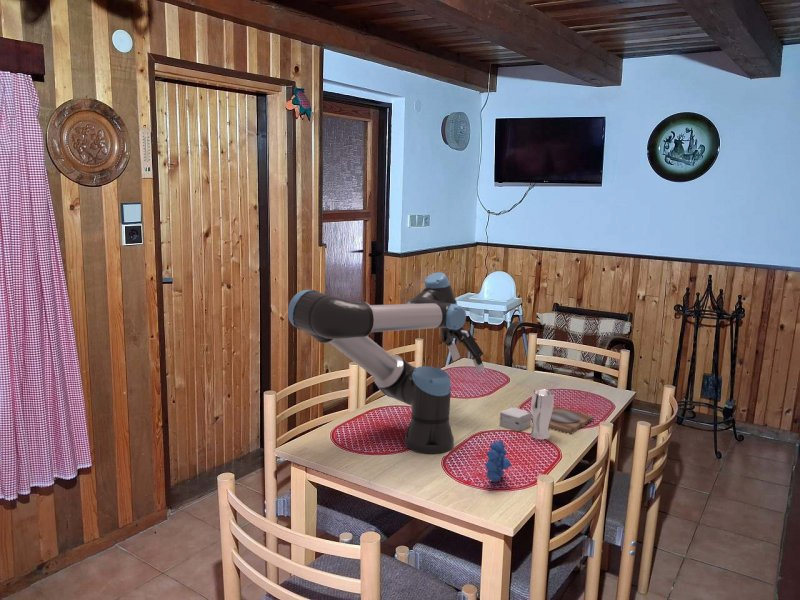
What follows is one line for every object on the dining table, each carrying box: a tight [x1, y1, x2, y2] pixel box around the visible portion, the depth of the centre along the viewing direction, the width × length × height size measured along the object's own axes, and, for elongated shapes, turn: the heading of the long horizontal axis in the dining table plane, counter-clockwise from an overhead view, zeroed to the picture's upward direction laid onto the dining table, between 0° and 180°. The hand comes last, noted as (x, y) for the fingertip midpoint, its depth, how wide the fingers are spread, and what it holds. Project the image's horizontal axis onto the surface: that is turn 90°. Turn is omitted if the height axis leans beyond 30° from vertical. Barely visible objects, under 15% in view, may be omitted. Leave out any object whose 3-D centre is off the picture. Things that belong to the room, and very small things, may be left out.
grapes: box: [484, 440, 512, 483], centre depth 178 cm, size 12×7×12 cm, turn 153°
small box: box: [499, 406, 532, 432], centre depth 222 cm, size 8×8×5 cm
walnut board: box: [531, 406, 595, 435], centre depth 227 cm, size 18×14×2 cm
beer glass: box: [530, 388, 555, 441], centre depth 212 cm, size 7×7×15 cm
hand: (468, 364), depth 230 cm, fingers open, 13 cm apart
